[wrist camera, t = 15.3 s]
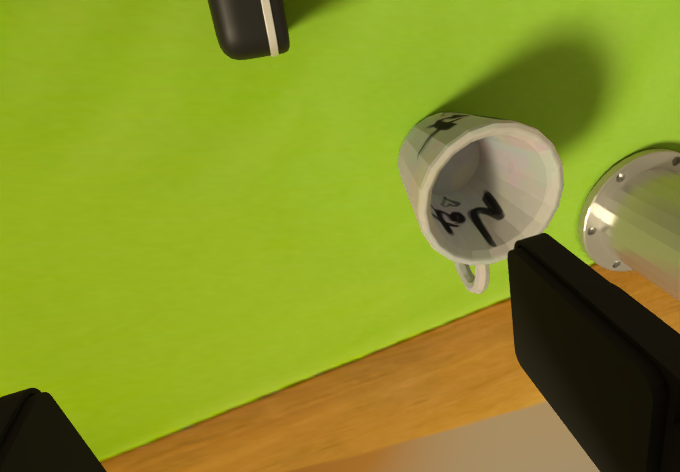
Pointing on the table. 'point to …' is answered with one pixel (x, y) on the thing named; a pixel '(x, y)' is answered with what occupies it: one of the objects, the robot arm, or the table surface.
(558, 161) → the mug
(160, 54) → the table surface
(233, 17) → the battery charger
